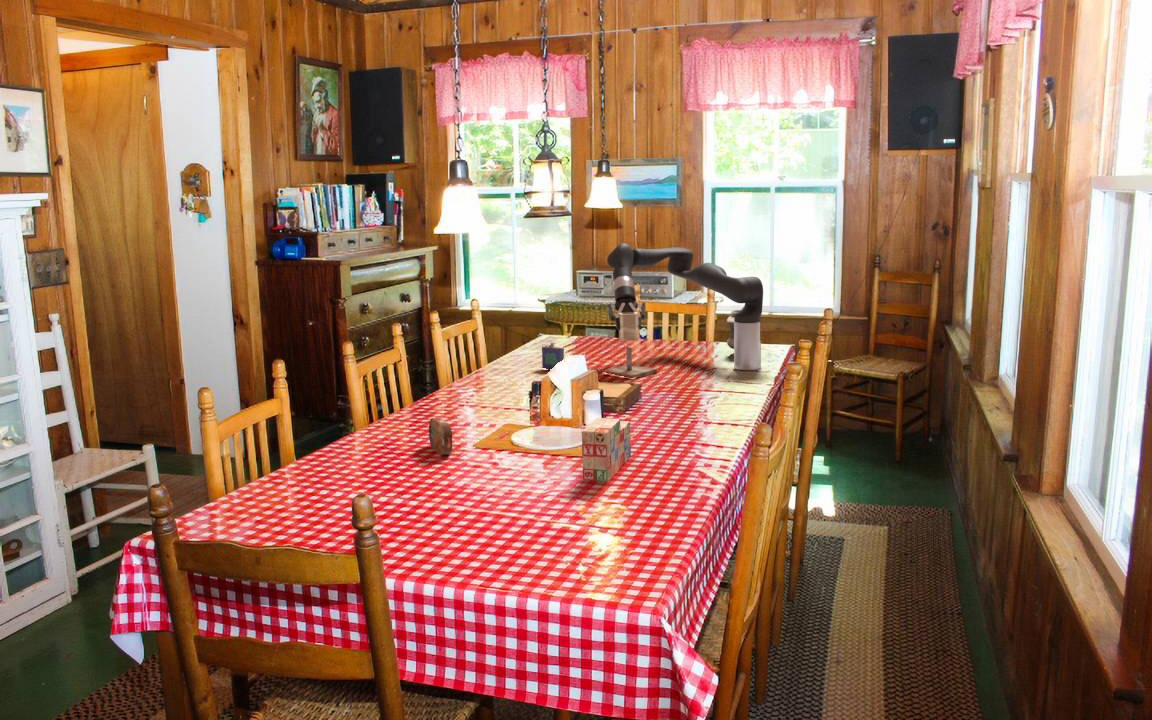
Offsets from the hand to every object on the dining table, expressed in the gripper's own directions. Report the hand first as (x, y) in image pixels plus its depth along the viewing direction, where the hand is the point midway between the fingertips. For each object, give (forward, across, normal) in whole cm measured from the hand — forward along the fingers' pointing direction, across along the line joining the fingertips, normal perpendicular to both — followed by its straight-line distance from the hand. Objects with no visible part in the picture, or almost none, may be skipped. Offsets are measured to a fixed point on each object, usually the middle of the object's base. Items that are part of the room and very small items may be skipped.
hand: (629, 328), depth 332 cm
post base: (+11, 0, -13) cm, 17 cm away
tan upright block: (+2, 0, -4) cm, 5 cm away
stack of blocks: (+87, +19, +64) cm, 110 cm away
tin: (+72, +61, +49) cm, 107 cm away
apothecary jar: (-5, -47, -30) cm, 56 cm away
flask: (+3, +27, -22) cm, 35 cm away
